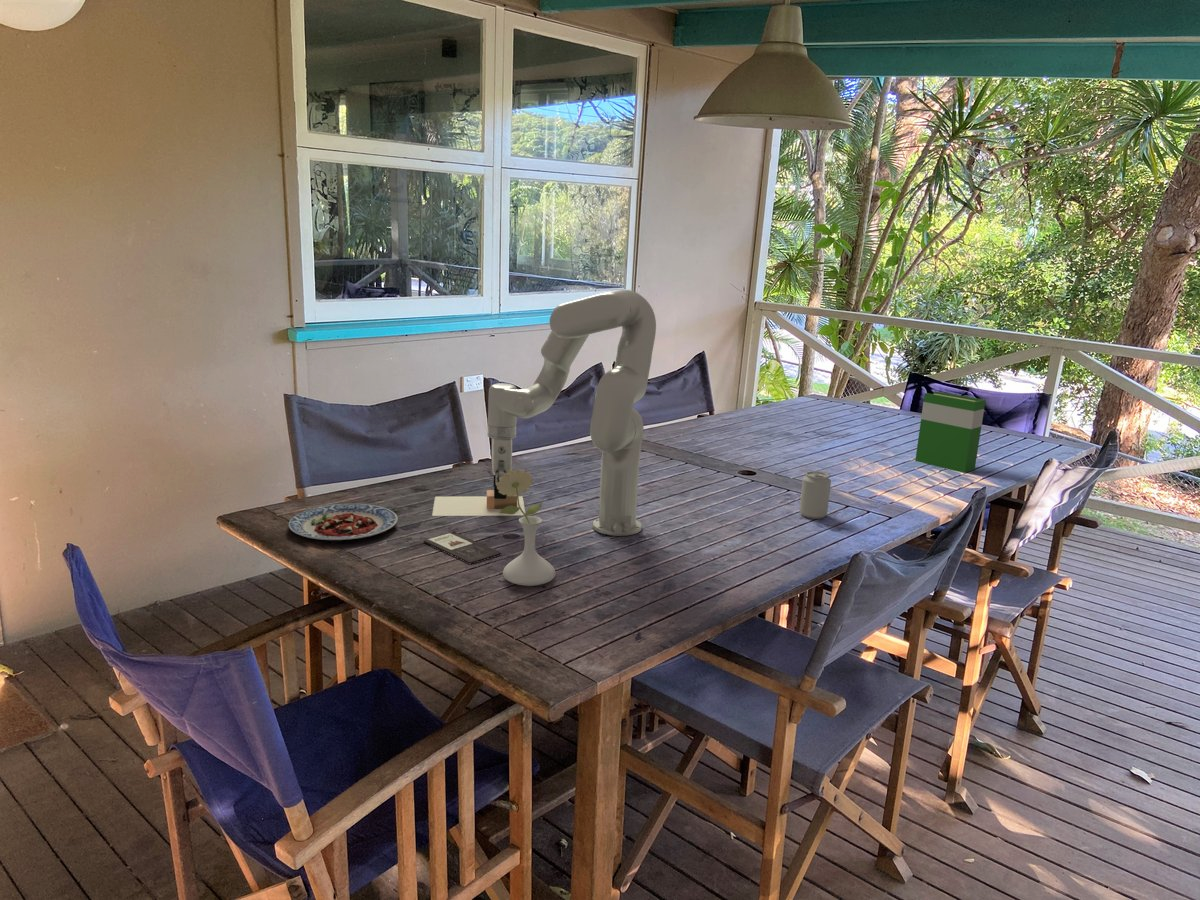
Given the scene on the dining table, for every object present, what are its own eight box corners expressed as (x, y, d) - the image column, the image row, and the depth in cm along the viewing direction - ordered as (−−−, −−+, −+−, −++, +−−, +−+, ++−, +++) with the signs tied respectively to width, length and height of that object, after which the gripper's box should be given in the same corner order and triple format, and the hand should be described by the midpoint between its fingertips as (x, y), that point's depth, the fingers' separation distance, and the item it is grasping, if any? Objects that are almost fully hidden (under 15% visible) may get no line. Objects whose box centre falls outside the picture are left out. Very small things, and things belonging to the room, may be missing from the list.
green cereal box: (915, 461, 298) (924, 393, 292) (925, 457, 303) (935, 391, 297) (964, 473, 285) (975, 402, 279) (974, 469, 290) (985, 400, 284)
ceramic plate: (419, 526, 216) (419, 515, 215) (336, 556, 195) (336, 543, 194) (351, 505, 230) (350, 494, 229) (266, 530, 209) (266, 518, 208)
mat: (525, 518, 224) (525, 515, 224) (432, 518, 221) (432, 515, 221) (522, 499, 239) (522, 496, 239) (435, 499, 236) (435, 496, 236)
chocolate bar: (470, 562, 193) (423, 540, 204) (470, 566, 193) (423, 544, 205) (501, 552, 199) (454, 531, 211) (501, 556, 199) (454, 535, 211)
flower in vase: (555, 570, 191) (559, 462, 185) (554, 591, 180) (558, 477, 174) (497, 569, 191) (498, 460, 184) (492, 590, 180) (493, 475, 173)
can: (807, 520, 232) (811, 478, 229) (794, 511, 239) (798, 470, 235) (832, 519, 234) (836, 477, 231) (818, 510, 241) (822, 469, 237)
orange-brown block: (517, 508, 229) (517, 496, 228) (486, 508, 228) (486, 496, 227) (516, 502, 234) (516, 490, 233) (486, 502, 233) (486, 490, 232)
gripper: (517, 439, 218) (514, 503, 222) (514, 423, 234) (512, 483, 239) (487, 438, 217) (485, 502, 221) (487, 422, 233) (485, 482, 238)
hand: (499, 492), depth 230 cm, fingers open, 9 cm apart
